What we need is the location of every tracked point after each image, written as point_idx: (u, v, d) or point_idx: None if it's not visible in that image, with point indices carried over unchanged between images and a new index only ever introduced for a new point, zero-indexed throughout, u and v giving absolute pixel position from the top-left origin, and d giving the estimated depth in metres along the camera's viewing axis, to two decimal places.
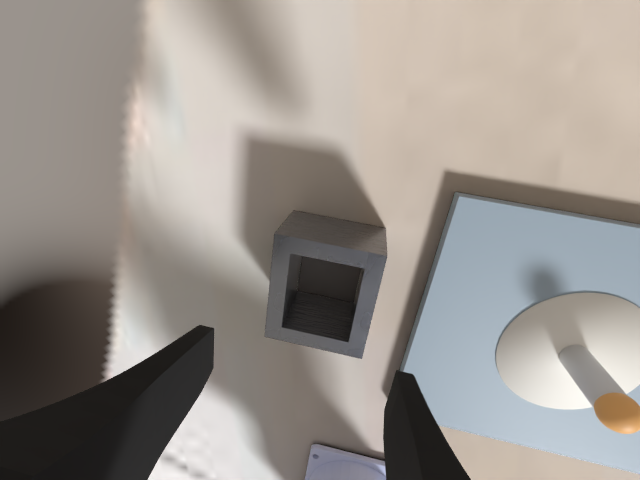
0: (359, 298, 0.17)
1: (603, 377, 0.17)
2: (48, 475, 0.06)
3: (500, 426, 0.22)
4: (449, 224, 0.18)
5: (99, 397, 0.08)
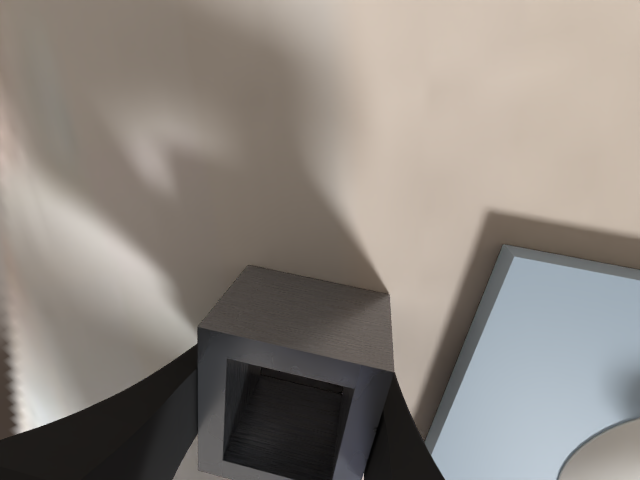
0: (346, 431, 0.10)
1: None
2: None
3: None
4: (494, 298, 0.11)
5: (125, 404, 0.08)
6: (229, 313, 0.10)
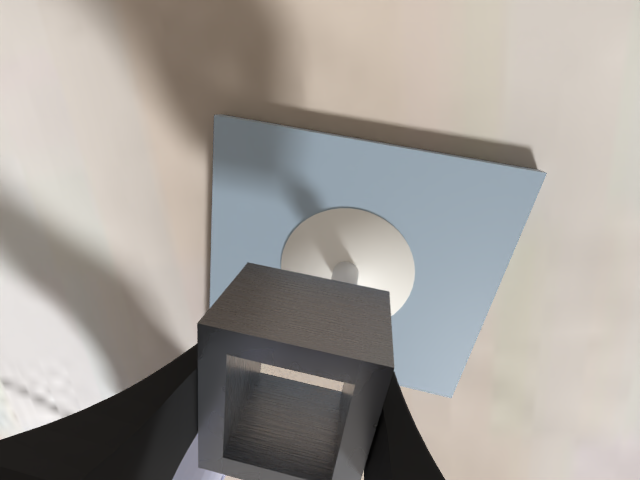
0: (346, 427, 0.10)
1: None
2: None
3: None
4: None
5: (125, 404, 0.08)
6: (229, 310, 0.10)
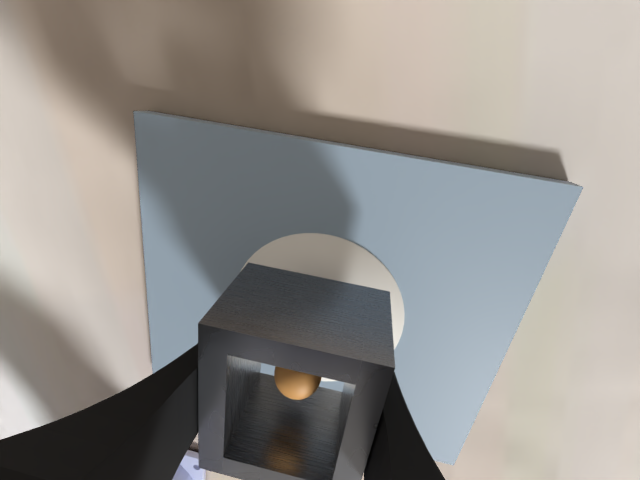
0: (347, 427, 0.10)
1: None
2: None
3: None
4: (138, 149, 0.15)
5: (124, 404, 0.08)
6: (229, 310, 0.10)
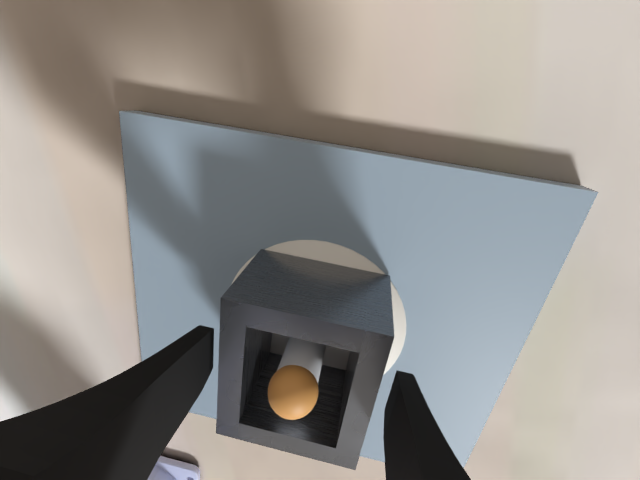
0: (351, 392, 0.11)
1: (298, 347, 0.13)
2: (48, 475, 0.06)
3: None
4: (125, 151, 0.14)
5: (99, 397, 0.08)
6: (247, 287, 0.11)
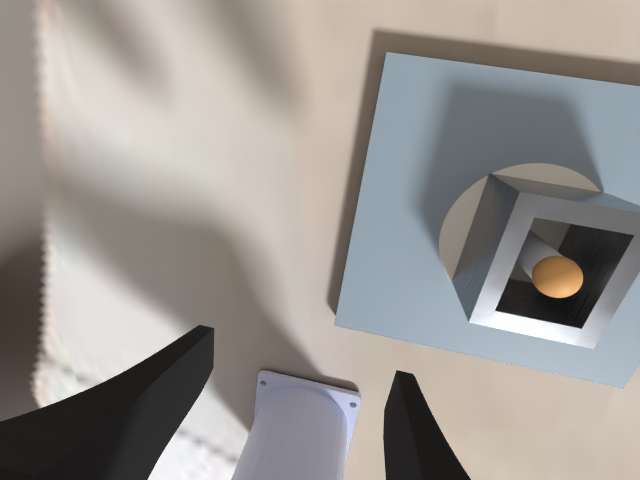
0: (614, 273, 0.14)
1: (544, 247, 0.15)
2: (48, 475, 0.06)
3: (449, 334, 0.21)
4: (379, 89, 0.16)
5: (99, 397, 0.08)
6: (526, 189, 0.14)
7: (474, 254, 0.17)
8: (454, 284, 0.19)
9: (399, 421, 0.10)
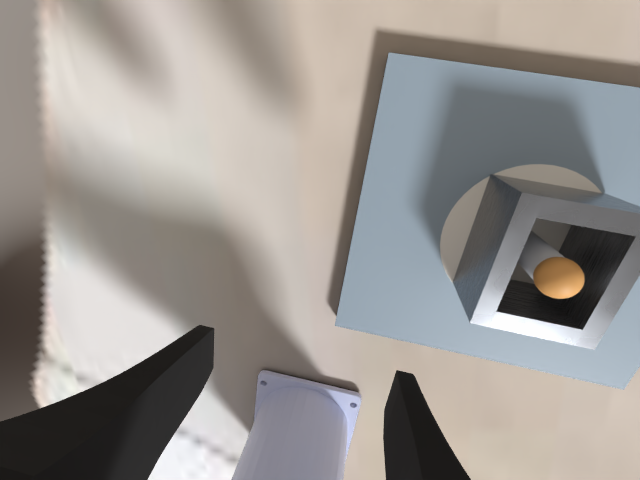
0: (615, 274, 0.14)
1: (545, 248, 0.15)
2: (48, 475, 0.06)
3: (450, 334, 0.21)
4: (381, 89, 0.16)
5: (98, 397, 0.08)
6: (527, 190, 0.14)
7: (475, 254, 0.17)
8: (455, 285, 0.19)
9: (399, 421, 0.10)
